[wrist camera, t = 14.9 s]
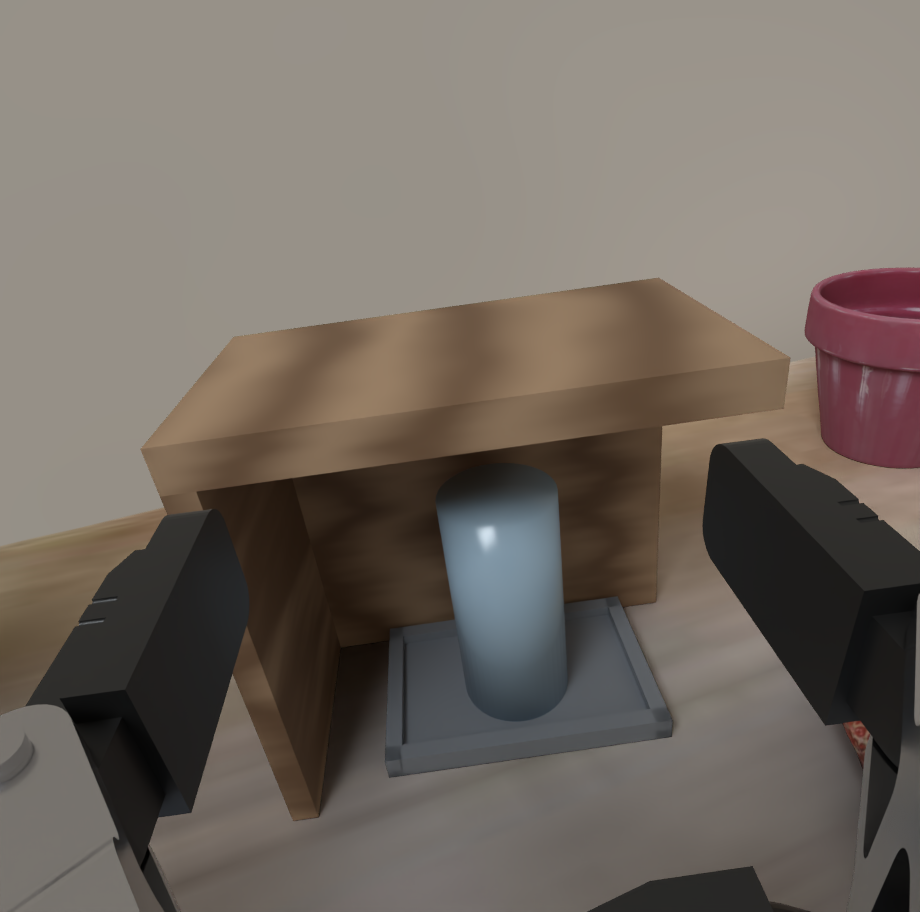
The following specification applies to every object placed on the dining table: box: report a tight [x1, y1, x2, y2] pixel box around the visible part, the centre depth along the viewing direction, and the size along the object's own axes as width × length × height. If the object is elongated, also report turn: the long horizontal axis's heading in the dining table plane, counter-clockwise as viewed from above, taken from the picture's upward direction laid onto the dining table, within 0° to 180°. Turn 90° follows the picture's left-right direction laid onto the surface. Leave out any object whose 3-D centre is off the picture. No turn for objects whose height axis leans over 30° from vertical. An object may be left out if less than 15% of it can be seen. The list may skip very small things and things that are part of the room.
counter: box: [141, 278, 790, 821], centre depth 30 cm, size 21×12×20 cm, turn 94°
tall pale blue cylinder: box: [435, 463, 568, 722], centre depth 31 cm, size 6×6×12 cm
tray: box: [385, 596, 673, 778], centre depth 34 cm, size 14×9×1 cm, turn 94°
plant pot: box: [805, 268, 920, 468], centre depth 49 cm, size 14×14×13 cm
